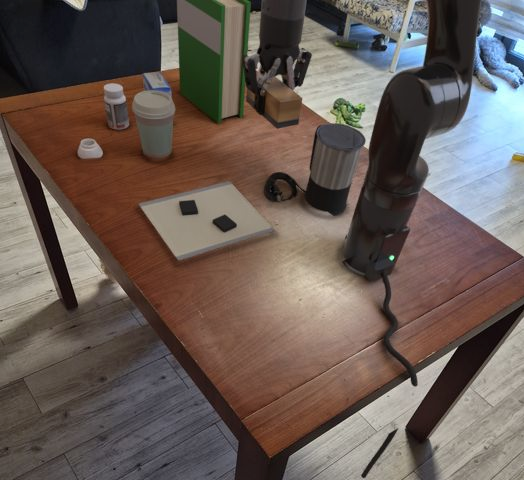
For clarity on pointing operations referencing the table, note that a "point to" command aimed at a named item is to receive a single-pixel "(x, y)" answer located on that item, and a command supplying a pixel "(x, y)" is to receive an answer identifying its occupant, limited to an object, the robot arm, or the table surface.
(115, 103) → the pill bottle
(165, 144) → the coffee cup
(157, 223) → the board
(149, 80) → the medicine box
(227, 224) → the smudge
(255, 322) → the table surface
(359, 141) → the milk frother
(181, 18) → the hardback book
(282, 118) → the eraser
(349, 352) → the table surface
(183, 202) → the smudge
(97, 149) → the white jar
